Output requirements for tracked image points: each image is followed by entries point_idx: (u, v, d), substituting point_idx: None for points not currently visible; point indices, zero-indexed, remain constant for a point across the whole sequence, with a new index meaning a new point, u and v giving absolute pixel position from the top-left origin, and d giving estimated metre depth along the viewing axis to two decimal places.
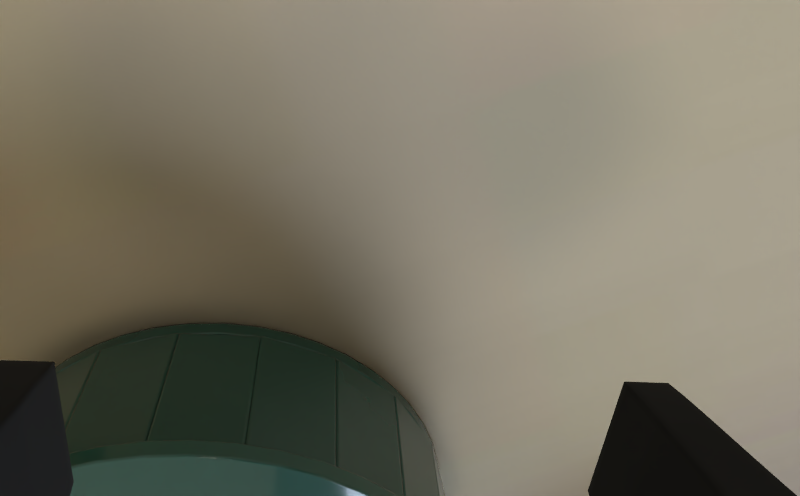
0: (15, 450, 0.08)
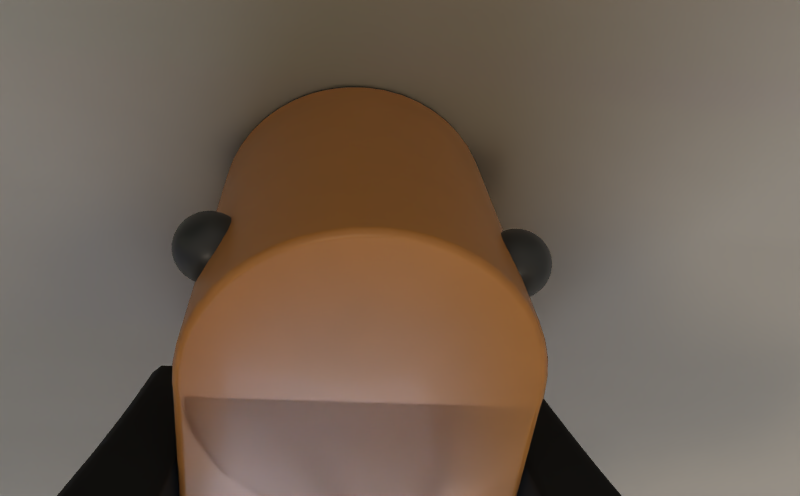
0: None
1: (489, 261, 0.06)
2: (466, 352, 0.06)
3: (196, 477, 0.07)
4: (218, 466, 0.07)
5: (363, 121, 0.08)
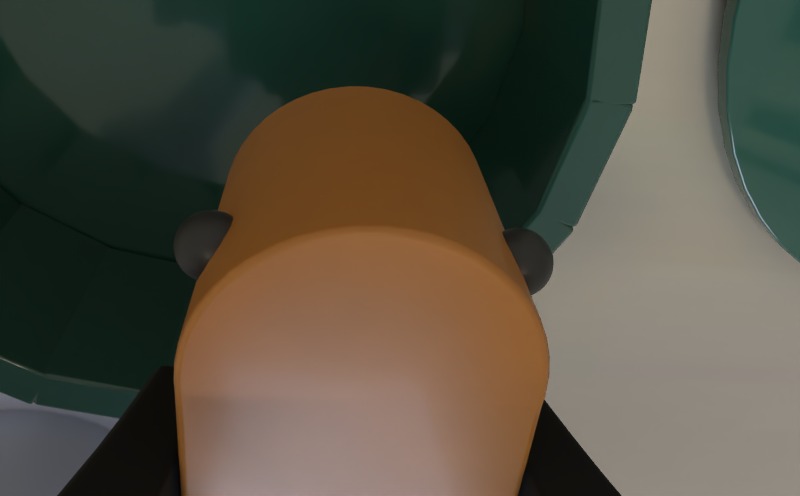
0: None
1: (491, 259, 0.06)
2: (468, 351, 0.06)
3: (198, 476, 0.07)
4: (220, 465, 0.07)
5: (365, 119, 0.08)
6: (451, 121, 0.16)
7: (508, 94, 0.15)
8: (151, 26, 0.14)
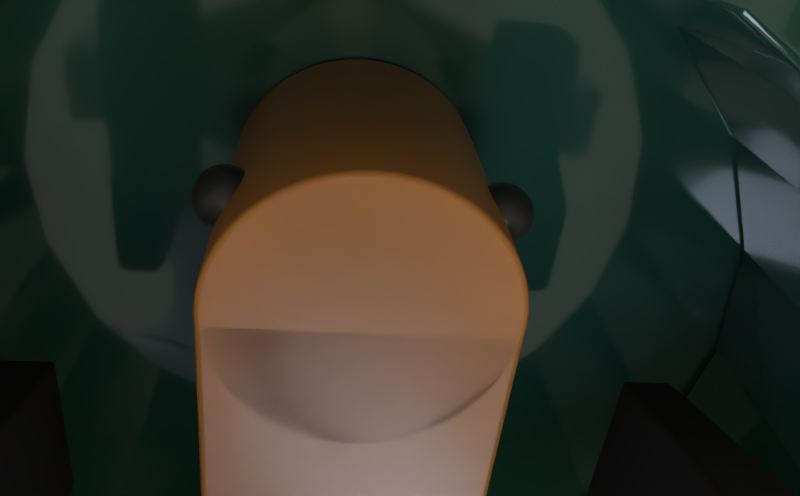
0: (15, 450, 0.08)
1: (475, 202, 0.07)
2: (455, 287, 0.07)
3: (213, 404, 0.08)
4: (233, 393, 0.08)
5: (363, 86, 0.09)
6: None
7: None
8: None
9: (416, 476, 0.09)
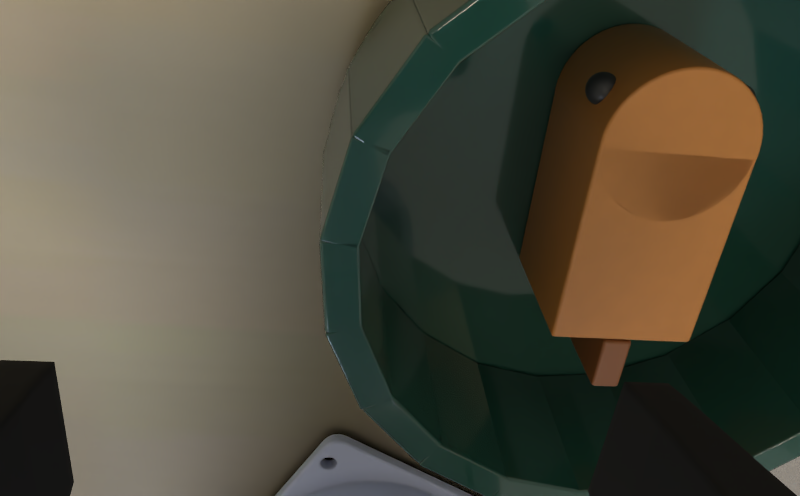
0: (15, 450, 0.08)
1: None
2: (729, 128, 0.15)
3: (596, 194, 0.15)
4: (607, 188, 0.15)
5: (656, 36, 0.16)
6: (752, 275, 0.21)
7: None
8: None
9: (686, 243, 0.16)
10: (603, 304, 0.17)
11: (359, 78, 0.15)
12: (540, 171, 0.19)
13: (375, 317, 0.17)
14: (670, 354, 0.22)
